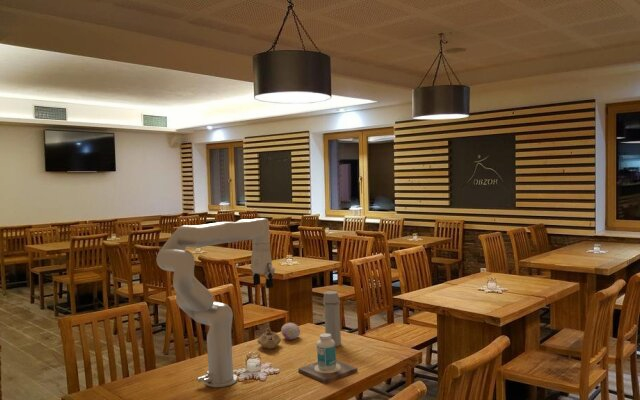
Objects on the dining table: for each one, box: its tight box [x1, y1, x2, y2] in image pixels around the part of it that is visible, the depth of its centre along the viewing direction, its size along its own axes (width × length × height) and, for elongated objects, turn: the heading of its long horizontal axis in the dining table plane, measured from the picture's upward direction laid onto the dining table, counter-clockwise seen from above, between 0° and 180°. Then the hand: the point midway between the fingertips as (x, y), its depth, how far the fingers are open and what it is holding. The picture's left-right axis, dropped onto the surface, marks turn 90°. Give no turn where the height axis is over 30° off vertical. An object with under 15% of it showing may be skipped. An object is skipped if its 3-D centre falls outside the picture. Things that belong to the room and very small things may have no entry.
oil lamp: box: [257, 327, 282, 350], centre depth 244 cm, size 11×15×8 cm
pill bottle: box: [316, 333, 337, 370], centre depth 210 cm, size 8×7×14 cm
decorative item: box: [280, 322, 301, 340], centre depth 257 cm, size 9×11×10 cm
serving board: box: [298, 359, 358, 384], centre depth 210 cm, size 17×17×2 cm
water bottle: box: [322, 290, 342, 348], centre depth 242 cm, size 9×8×25 cm
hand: (263, 286), depth 224 cm, fingers open, 9 cm apart
